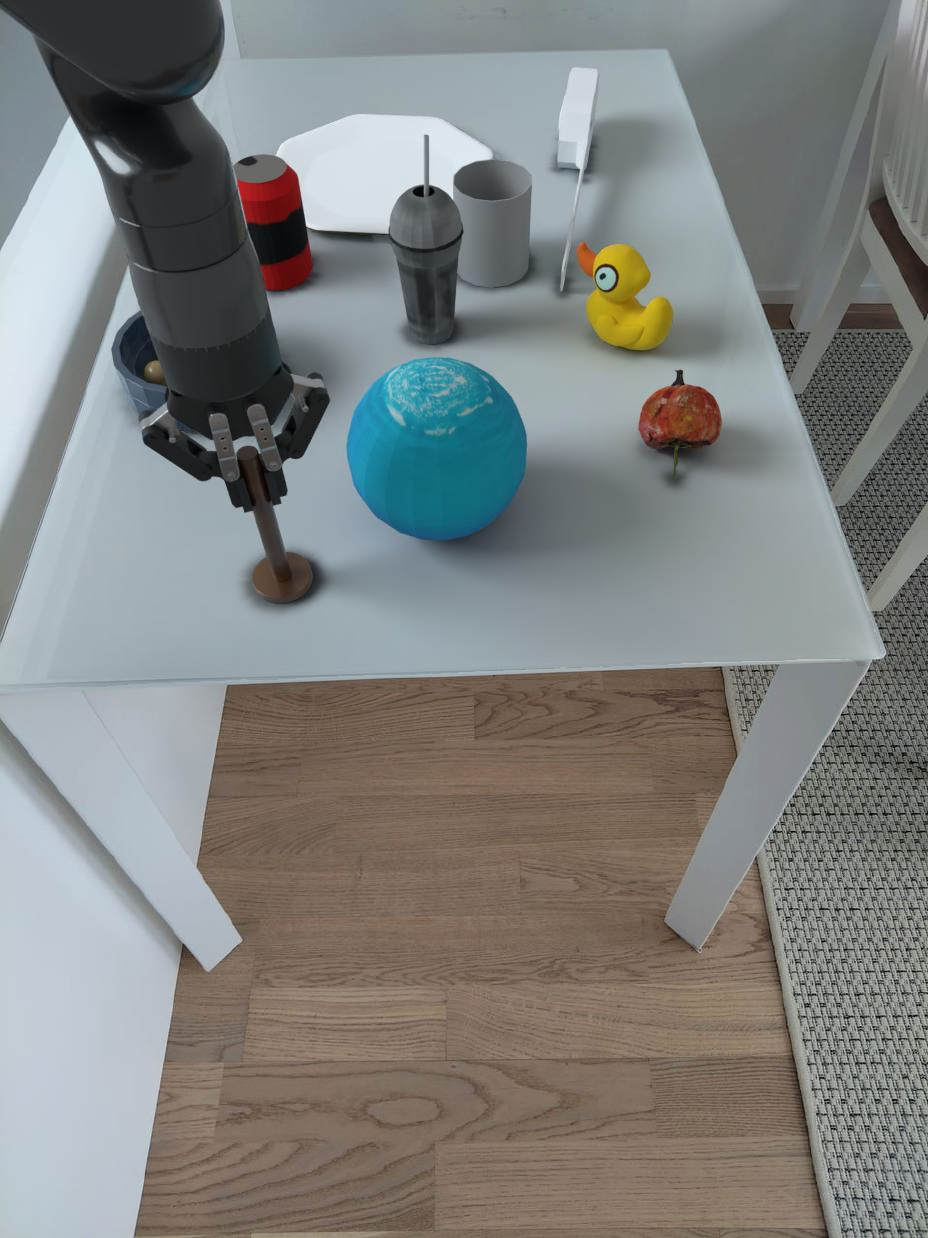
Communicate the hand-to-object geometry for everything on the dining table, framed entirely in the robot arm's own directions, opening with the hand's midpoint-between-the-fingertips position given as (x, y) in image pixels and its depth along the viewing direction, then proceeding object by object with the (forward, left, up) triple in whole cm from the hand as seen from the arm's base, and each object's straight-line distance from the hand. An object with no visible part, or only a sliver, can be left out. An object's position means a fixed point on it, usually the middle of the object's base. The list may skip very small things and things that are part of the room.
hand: (261, 500), depth 70 cm
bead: (-6, +28, -8) cm, 30 cm away
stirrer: (0, 0, -10) cm, 10 cm away
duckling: (+40, +20, -10) cm, 46 cm away
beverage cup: (+22, +28, -10) cm, 37 cm away
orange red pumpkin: (+38, +3, -10) cm, 39 cm away
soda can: (+9, +44, -10) cm, 46 cm away
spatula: (+45, +47, -10) cm, 65 cm away
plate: (+25, +59, -10) cm, 65 cm away
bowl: (-2, +28, -10) cm, 30 cm away
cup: (+32, +37, -10) cm, 50 cm away
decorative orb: (+15, +3, -10) cm, 18 cm away
